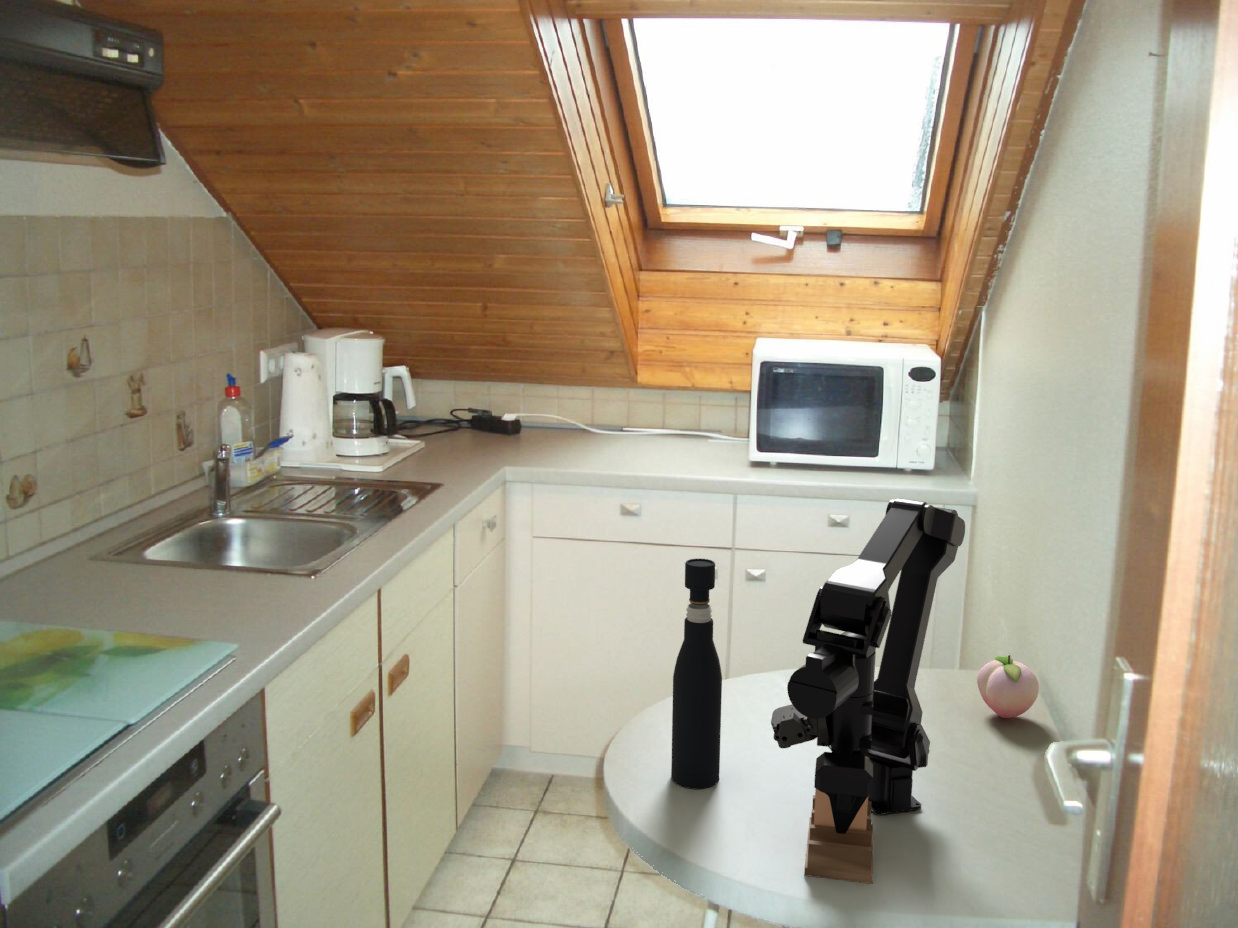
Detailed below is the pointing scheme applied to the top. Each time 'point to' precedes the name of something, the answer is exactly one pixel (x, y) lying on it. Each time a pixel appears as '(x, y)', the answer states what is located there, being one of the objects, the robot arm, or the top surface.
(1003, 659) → the decorative fruit
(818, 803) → the block
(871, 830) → the rack
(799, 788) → the top surface
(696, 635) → the wine bottle
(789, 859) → the top surface
